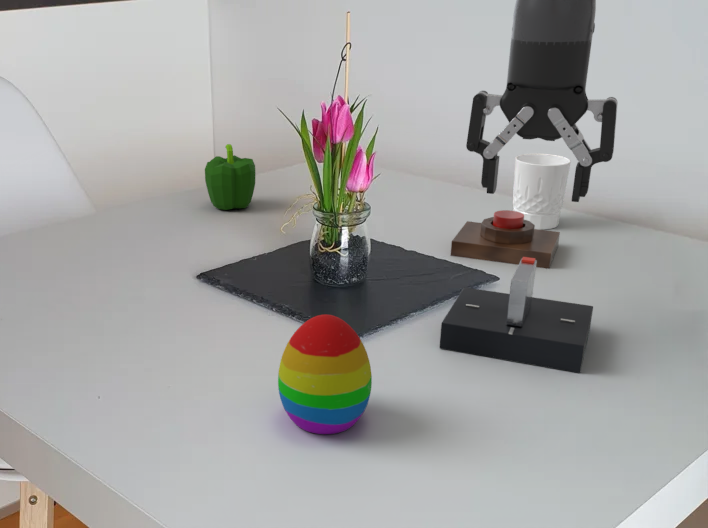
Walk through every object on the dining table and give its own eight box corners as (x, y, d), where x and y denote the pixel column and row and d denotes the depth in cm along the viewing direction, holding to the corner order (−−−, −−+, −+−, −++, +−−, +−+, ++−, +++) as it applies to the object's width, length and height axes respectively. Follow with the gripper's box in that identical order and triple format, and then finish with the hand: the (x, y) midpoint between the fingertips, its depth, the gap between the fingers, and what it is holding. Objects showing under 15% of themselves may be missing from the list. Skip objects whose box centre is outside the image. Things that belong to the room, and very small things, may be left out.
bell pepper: (249, 215, 134) (248, 153, 130) (200, 212, 135) (198, 151, 132) (261, 201, 141) (261, 142, 137) (214, 198, 143) (213, 140, 139)
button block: (558, 246, 118) (561, 219, 117) (549, 269, 110) (552, 240, 108) (465, 235, 123) (468, 209, 122) (450, 256, 115) (452, 228, 113)
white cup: (506, 228, 126) (514, 163, 122) (509, 214, 133) (516, 152, 129) (561, 233, 124) (571, 167, 120) (562, 218, 131) (570, 155, 127)
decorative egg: (388, 419, 75) (394, 316, 71) (326, 454, 69) (329, 346, 66) (321, 388, 80) (323, 291, 76) (259, 418, 75) (258, 316, 71)
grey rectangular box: (521, 327, 85) (527, 279, 83) (506, 324, 86) (511, 277, 84) (531, 303, 91) (537, 257, 89) (516, 300, 92) (521, 255, 90)
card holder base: (589, 330, 92) (593, 304, 91) (579, 373, 82) (584, 344, 81) (461, 310, 97) (464, 285, 96) (439, 348, 88) (441, 321, 87)
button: (524, 224, 116) (526, 212, 115) (520, 232, 113) (521, 219, 112) (495, 220, 118) (496, 208, 117) (490, 228, 114) (491, 216, 114)
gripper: (470, 36, 81) (457, 198, 87) (629, 40, 76) (603, 212, 82) (484, 30, 87) (471, 181, 94) (631, 33, 82) (607, 193, 88)
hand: (532, 196), depth 88 cm, fingers open, 8 cm apart
